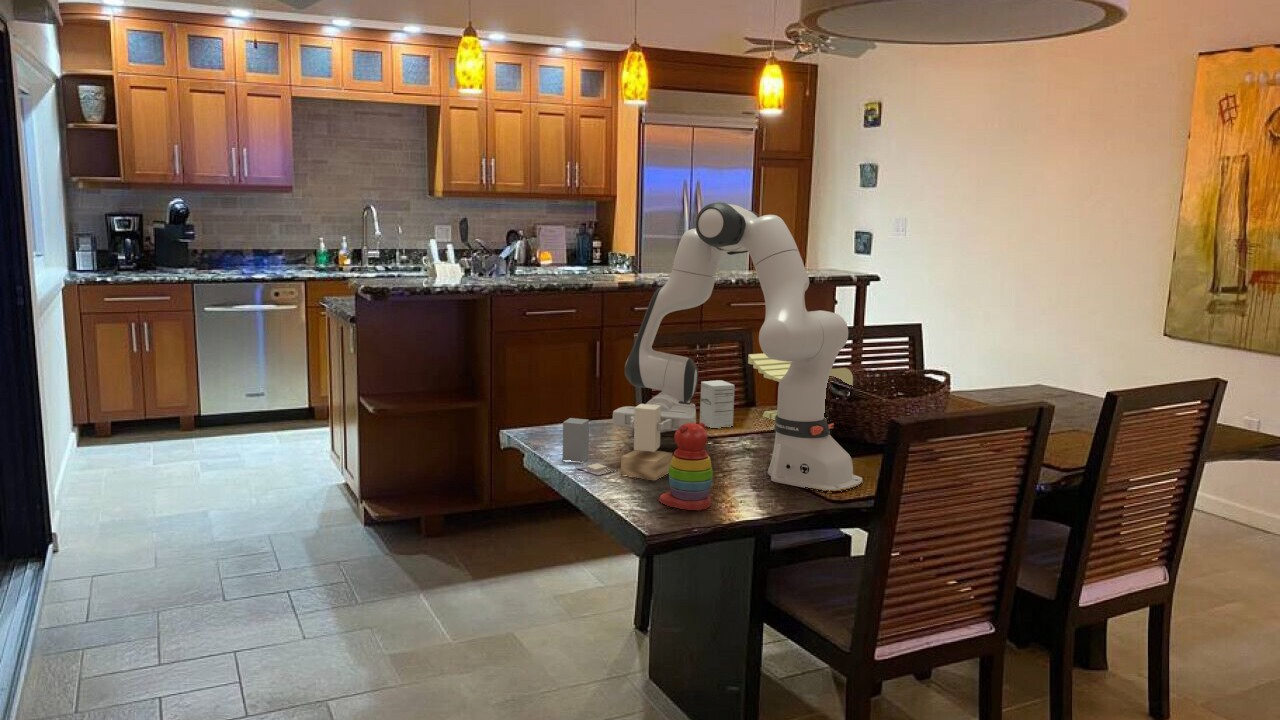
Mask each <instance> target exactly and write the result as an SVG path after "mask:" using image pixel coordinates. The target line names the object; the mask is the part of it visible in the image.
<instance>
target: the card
mask: <svg viewBox="0 0 1280 720" xmlns="http://www.w3.org/2000/svg"><path fill="white" fill-rule="evenodd" d="M595 463H596V464H592V463H591V464H592V465H588V464H587V465H588V466H586V468H587V469H591V470H594V471H600V470H604V469H606V470H607V471H610V472H611V471H615V470H617V469H616V468H612V467H609V466H607V465H603V464H601V463H598V462H595ZM607 468H608V469H610V470H608V469H607ZM604 472H606V471H604ZM606 473H607V472H606Z"/></svg>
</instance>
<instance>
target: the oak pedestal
mask: <svg viewBox="0 0 1280 720" xmlns="http://www.w3.org/2000/svg"><path fill="white" fill-rule="evenodd" d="M672 457H673V452H670V451H669V452H668V451H662V450H656V451H655V452H653V451H642V450H634V449H633V450H631V451H630V452H626V454H624V455H621V456H620V475H621V474H622V475H627V476H632V477H638V478H643V479H649V480H657V479H659V478H661V477H663V476H664V475H666V474H668V473H669V468H670V465H671V460H672ZM668 475H669V474H668ZM666 476H667V475H666ZM664 477H665V476H664ZM664 477H663V478H664ZM661 479H662V478H661ZM659 480H660V479H659ZM657 481H658V480H657Z"/></svg>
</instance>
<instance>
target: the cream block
mask: <svg viewBox="0 0 1280 720" xmlns="http://www.w3.org/2000/svg"><path fill="white" fill-rule="evenodd" d="M634 407H635V416H634V428H633V429H634V430H633V450H642V451H653V452H655V451H658V449H659V448H660V447H661V432H660V430H657V423H658V422H661V405H650V404H646V403H640V404H638V405H637V406H634Z"/></svg>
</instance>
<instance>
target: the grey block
mask: <svg viewBox="0 0 1280 720" xmlns="http://www.w3.org/2000/svg"><path fill="white" fill-rule="evenodd" d="M589 422H590V419H585V418H575V417H570V418H568V419H566V420H564V421H563V422H562V461H563V460H571V461H580V462H582V461H584V460H585V459H586V458H588V457H589V452H590V451H589V449H590V448H589V447H590V446H589V444H590V443H589V442H590V439H589V438H590V436H589V435H590V433H589V432H590V423H589Z"/></svg>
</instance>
